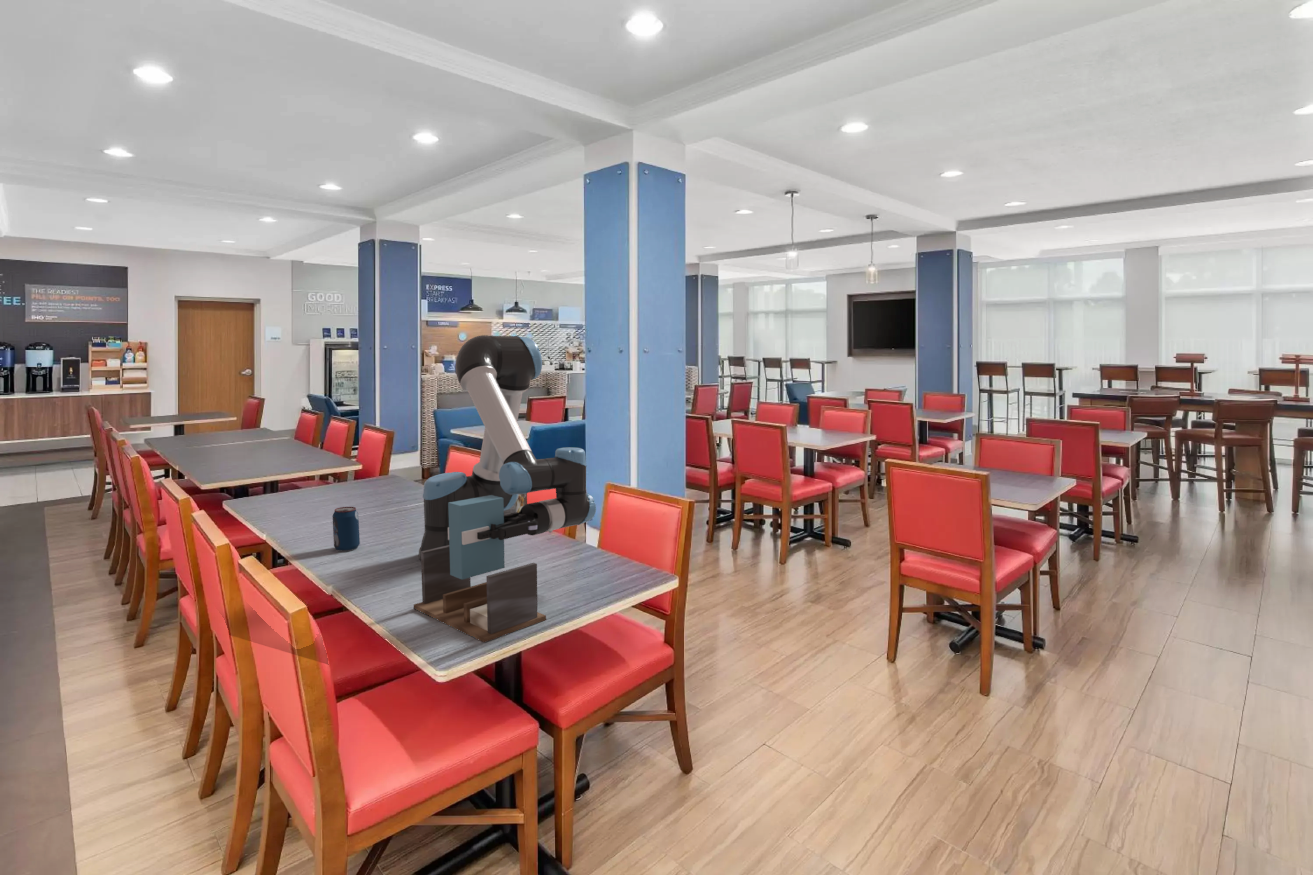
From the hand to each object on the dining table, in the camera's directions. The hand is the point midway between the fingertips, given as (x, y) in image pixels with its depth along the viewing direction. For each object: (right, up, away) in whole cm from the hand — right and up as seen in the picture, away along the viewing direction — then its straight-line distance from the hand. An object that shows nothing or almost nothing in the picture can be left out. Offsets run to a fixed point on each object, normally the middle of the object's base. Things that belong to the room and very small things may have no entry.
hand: (455, 535), depth 146 cm
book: (+3, -9, +5) cm, 10 cm away
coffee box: (-4, -9, +79) cm, 80 cm away
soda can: (-48, -12, +55) cm, 74 cm away
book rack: (+3, -18, +6) cm, 20 cm away
